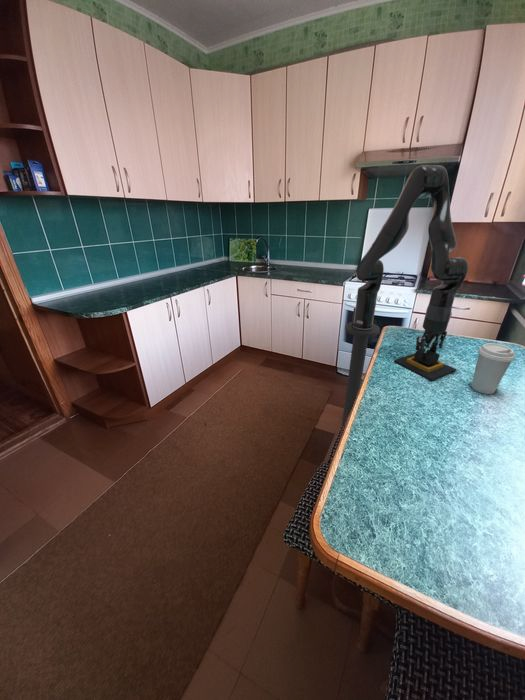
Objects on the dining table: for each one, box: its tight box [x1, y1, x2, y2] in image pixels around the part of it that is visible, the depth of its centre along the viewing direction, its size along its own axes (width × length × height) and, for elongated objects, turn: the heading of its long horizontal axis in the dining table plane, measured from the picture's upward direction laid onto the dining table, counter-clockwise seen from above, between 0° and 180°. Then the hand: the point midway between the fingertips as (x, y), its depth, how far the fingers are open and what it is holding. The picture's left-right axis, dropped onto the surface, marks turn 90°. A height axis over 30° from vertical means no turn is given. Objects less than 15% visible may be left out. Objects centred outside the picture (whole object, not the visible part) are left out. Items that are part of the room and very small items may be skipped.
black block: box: [414, 349, 441, 365], centre depth 109 cm, size 6×6×3 cm
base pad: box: [393, 352, 457, 382], centre depth 110 cm, size 16×14×2 cm
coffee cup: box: [470, 342, 516, 395], centre depth 94 cm, size 10×10×15 cm
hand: (426, 358), depth 109 cm, fingers closed on black block, 5 cm apart
